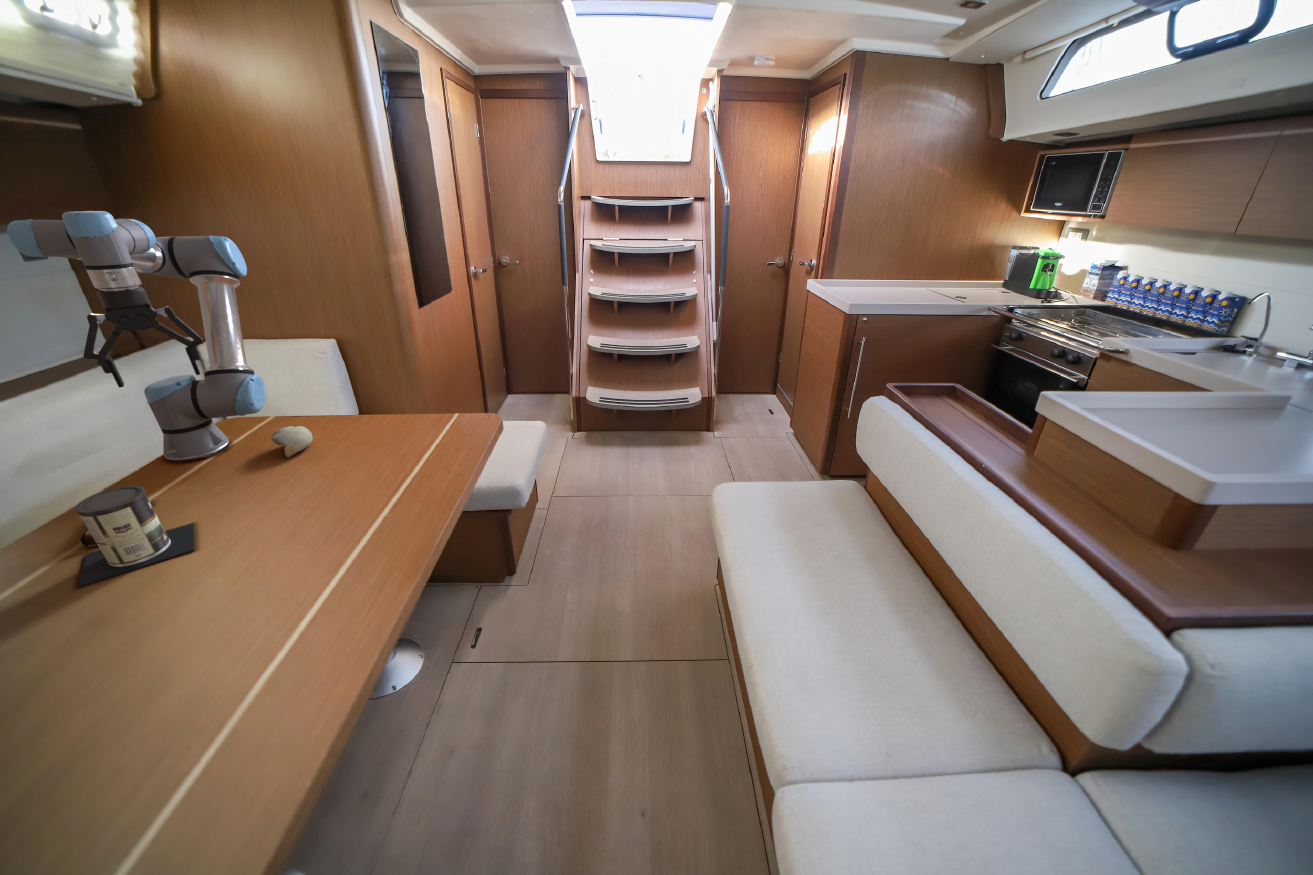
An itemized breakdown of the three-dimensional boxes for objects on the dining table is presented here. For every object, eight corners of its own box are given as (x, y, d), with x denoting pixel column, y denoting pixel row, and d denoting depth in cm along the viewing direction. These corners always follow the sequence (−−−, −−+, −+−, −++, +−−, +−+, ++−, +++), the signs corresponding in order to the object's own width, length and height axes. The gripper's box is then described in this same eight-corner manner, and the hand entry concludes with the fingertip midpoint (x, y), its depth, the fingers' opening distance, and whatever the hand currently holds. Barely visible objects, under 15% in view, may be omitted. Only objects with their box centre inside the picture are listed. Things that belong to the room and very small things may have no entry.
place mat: (87, 555, 110) (86, 554, 109) (193, 524, 120) (193, 522, 120) (78, 587, 101) (77, 586, 101) (194, 550, 111) (194, 549, 111)
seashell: (267, 424, 154) (303, 414, 158) (279, 445, 159) (314, 434, 163) (267, 444, 145) (306, 432, 149) (280, 465, 150) (318, 453, 154)
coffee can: (152, 533, 116) (124, 481, 110) (182, 543, 113) (155, 490, 107) (95, 561, 107) (62, 506, 101) (126, 572, 104) (93, 516, 98)
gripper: (31, 297, 100) (84, 395, 109) (194, 284, 115) (228, 372, 124) (38, 291, 105) (88, 386, 114) (193, 280, 120) (226, 365, 129)
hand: (161, 379), depth 119 cm, fingers open, 13 cm apart
